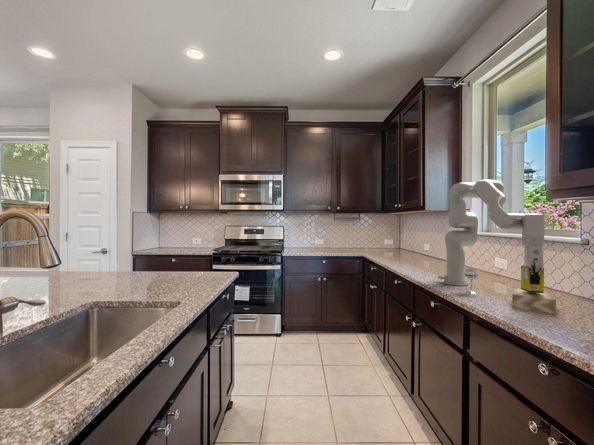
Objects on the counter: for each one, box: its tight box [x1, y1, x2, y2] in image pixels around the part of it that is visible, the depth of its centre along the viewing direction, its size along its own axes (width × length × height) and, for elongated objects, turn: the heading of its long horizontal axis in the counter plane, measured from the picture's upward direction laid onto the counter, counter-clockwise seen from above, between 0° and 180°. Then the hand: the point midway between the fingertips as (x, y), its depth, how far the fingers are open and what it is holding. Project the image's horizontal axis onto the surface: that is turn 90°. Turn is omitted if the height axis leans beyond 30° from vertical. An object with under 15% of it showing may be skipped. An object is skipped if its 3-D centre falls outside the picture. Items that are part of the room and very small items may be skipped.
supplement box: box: [520, 264, 545, 293], centre depth 125 cm, size 6×6×11 cm
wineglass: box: [464, 268, 480, 295], centre depth 149 cm, size 7×7×12 cm
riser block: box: [511, 287, 557, 315], centre depth 125 cm, size 14×14×6 cm
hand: (532, 282), depth 125 cm, fingers open, 7 cm apart
